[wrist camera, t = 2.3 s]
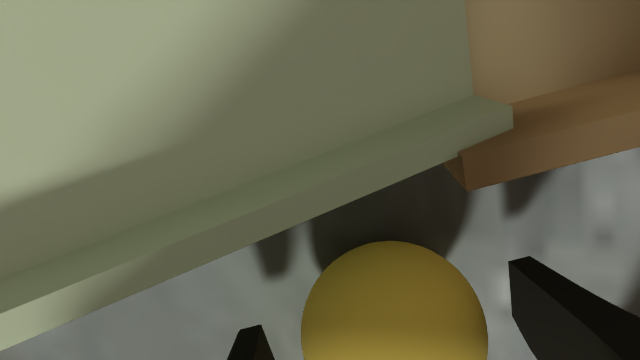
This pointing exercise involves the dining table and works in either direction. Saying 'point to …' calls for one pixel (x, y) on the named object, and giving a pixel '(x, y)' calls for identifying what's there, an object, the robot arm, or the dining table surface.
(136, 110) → the ramp
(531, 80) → the lane
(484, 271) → the dining table surface
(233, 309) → the dining table surface
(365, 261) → the ball
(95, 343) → the dining table surface
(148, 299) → the dining table surface
